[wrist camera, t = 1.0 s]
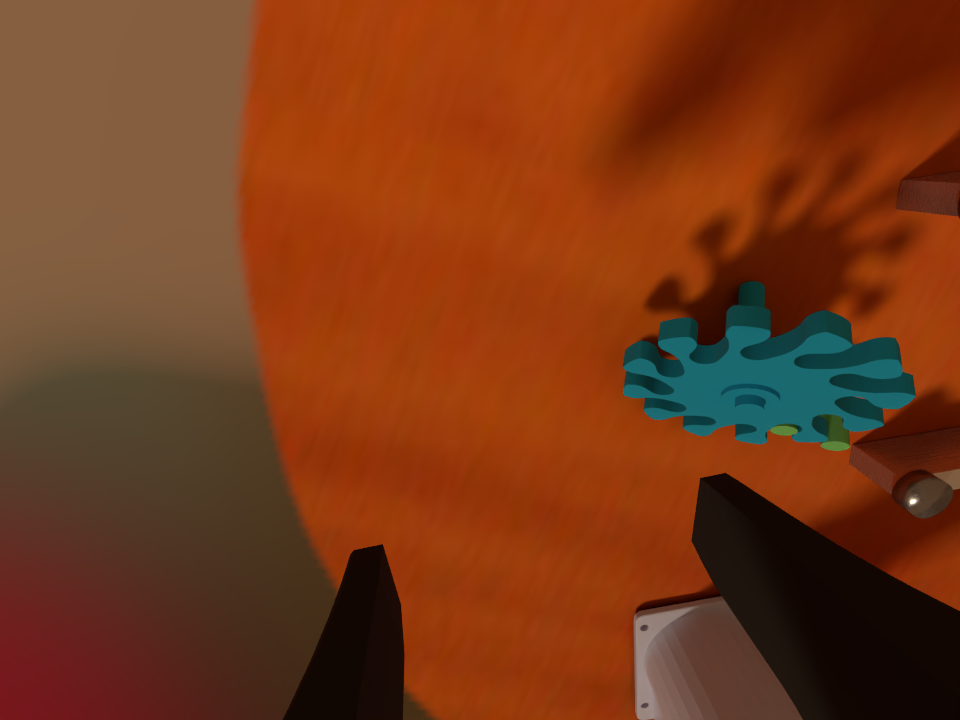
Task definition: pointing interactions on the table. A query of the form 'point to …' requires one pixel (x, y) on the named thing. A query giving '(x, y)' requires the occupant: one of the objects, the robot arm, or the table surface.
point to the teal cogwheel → (769, 376)
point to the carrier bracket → (931, 455)
